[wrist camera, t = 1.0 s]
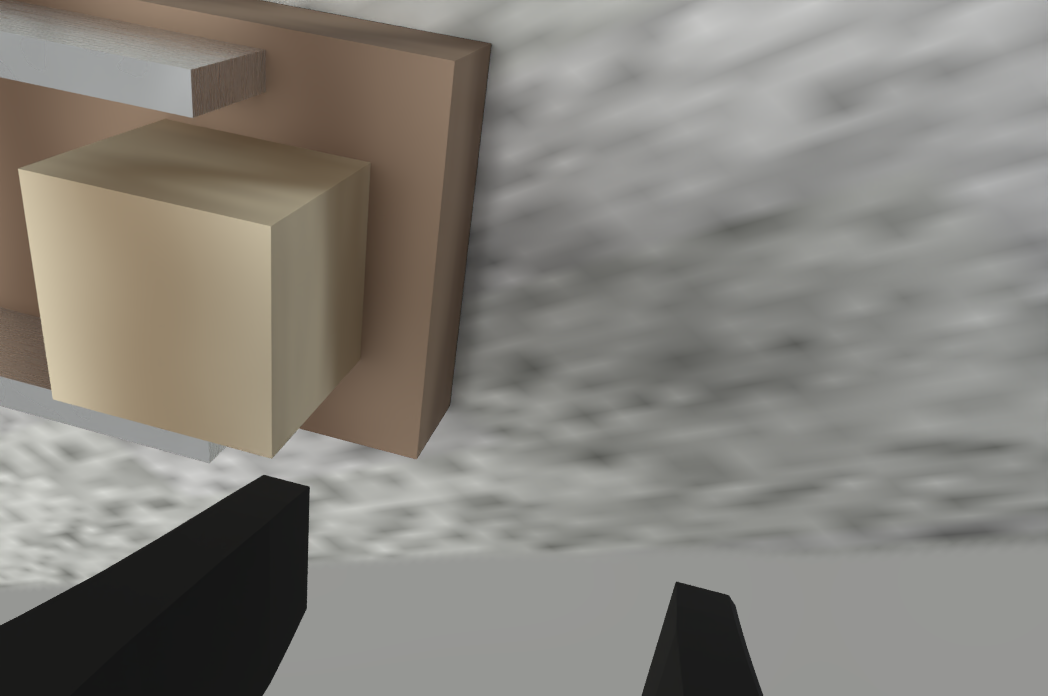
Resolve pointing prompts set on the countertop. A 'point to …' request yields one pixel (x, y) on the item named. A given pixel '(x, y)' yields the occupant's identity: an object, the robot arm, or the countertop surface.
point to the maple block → (199, 279)
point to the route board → (330, 127)
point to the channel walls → (127, 77)
